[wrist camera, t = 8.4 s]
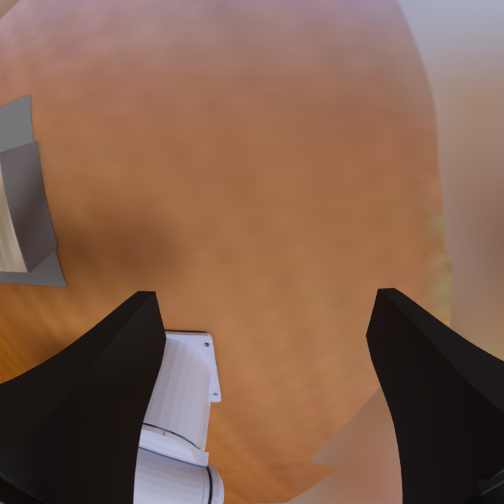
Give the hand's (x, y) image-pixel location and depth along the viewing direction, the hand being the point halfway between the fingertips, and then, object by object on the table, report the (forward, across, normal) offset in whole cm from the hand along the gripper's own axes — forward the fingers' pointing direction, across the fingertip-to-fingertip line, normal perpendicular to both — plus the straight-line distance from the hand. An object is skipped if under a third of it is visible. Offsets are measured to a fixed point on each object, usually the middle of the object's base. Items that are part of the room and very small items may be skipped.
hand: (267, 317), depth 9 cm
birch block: (+8, +16, -2) cm, 18 cm away
